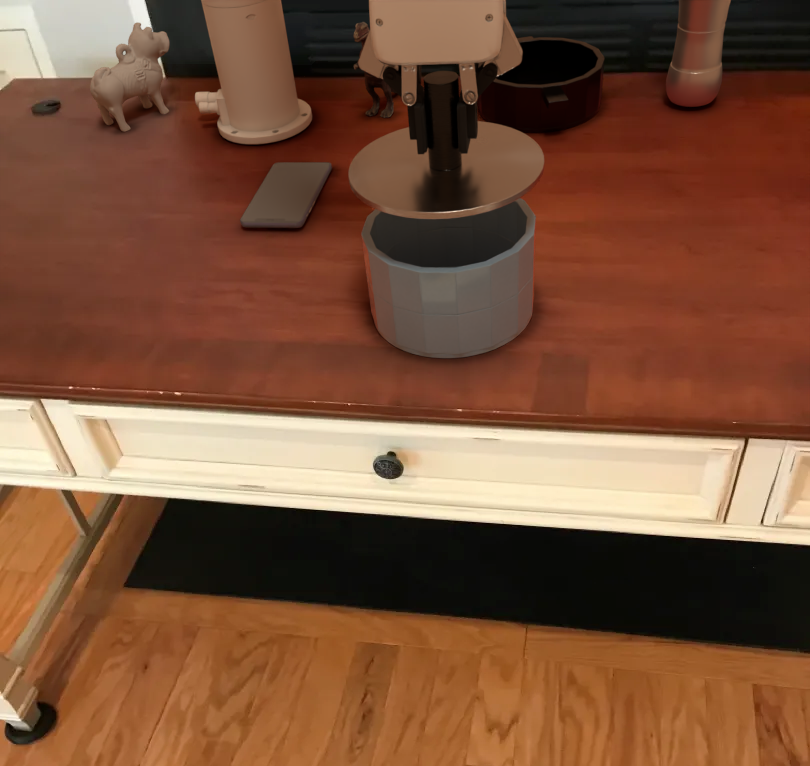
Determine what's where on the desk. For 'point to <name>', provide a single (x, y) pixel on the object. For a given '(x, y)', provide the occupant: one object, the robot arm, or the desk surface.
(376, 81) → the dinosaur model
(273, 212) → the smartphone
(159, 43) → the dog figurine
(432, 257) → the pot
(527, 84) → the pan
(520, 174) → the lid
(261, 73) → the robot arm
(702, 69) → the plastic bottle
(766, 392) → the desk surface
